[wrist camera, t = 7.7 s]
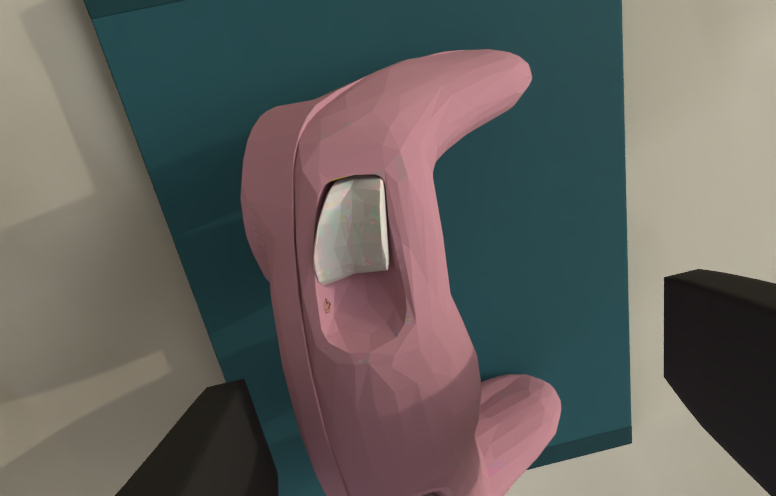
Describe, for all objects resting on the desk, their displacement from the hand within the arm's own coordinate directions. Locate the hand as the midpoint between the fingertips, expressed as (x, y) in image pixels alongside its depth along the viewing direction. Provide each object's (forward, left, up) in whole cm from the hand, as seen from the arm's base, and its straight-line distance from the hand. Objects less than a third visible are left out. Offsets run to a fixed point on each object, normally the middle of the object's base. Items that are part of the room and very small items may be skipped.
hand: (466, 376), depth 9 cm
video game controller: (0, 0, -5) cm, 5 cm away
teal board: (0, 0, -5) cm, 5 cm away
